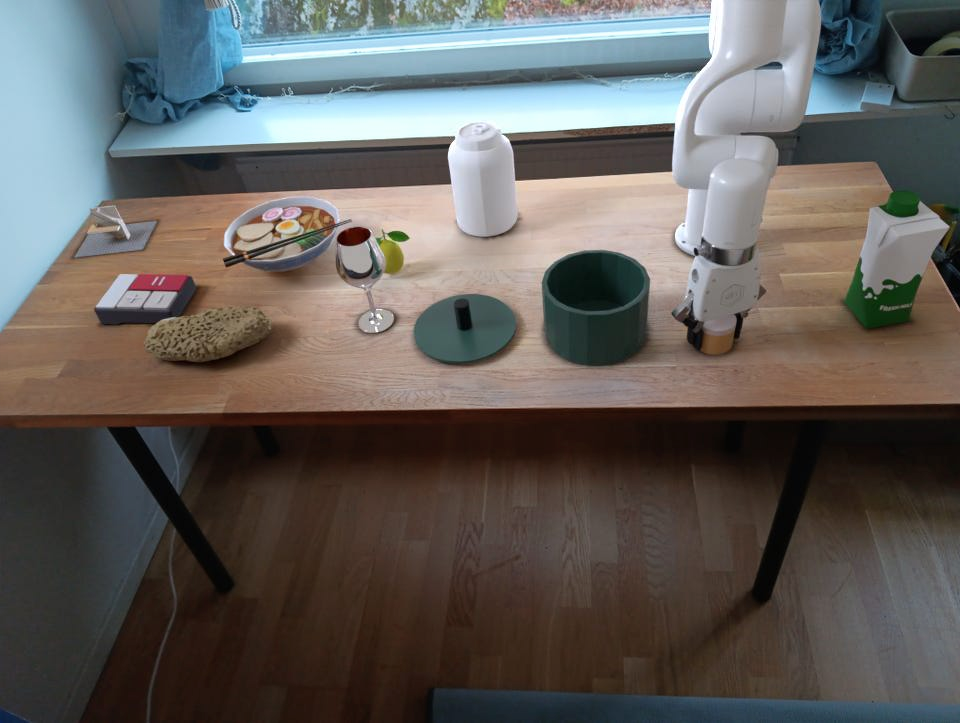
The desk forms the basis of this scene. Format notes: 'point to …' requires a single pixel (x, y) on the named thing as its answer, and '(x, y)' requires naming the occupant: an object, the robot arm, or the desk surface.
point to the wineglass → (363, 272)
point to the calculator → (145, 298)
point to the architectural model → (113, 234)
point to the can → (483, 179)
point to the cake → (718, 335)
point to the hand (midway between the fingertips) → (713, 338)
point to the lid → (465, 328)
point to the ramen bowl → (282, 233)
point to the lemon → (392, 250)
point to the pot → (595, 306)
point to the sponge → (207, 334)
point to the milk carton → (893, 259)
